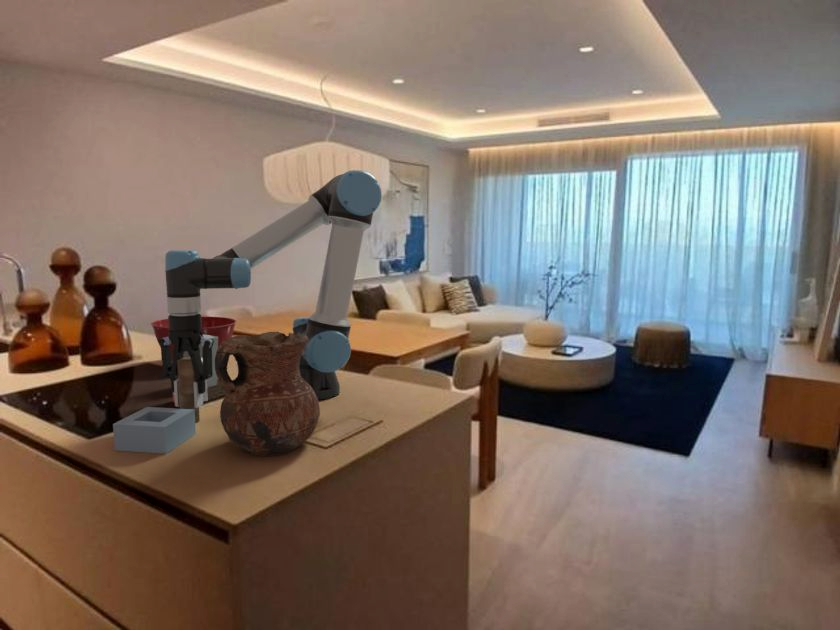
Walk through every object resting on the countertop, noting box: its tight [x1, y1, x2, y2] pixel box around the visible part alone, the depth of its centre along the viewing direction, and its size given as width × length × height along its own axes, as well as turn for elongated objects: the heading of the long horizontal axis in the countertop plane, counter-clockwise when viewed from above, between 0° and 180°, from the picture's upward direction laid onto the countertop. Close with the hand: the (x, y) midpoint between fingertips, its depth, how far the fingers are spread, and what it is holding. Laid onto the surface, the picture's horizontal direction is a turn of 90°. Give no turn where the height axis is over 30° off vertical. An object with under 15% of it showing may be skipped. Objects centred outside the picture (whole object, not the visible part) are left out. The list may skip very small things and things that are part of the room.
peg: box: [177, 357, 201, 424], centre depth 137 cm, size 4×4×16 cm
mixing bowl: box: [150, 316, 237, 361], centre depth 198 cm, size 28×28×16 cm
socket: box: [112, 406, 197, 455], centre depth 124 cm, size 12×12×6 cm
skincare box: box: [183, 335, 218, 389], centre depth 169 cm, size 8×7×16 cm
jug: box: [215, 331, 321, 457], centre depth 121 cm, size 22×21×25 cm
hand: (189, 405), depth 137 cm, fingers closed on peg, 4 cm apart
